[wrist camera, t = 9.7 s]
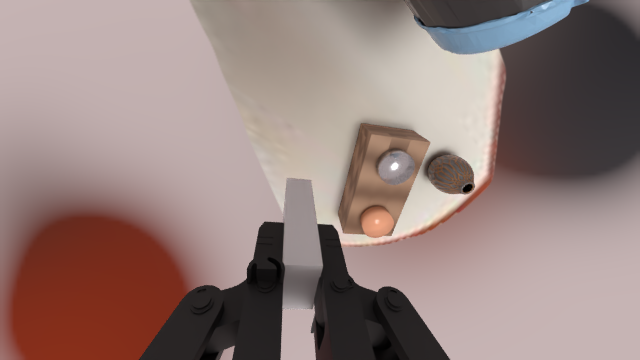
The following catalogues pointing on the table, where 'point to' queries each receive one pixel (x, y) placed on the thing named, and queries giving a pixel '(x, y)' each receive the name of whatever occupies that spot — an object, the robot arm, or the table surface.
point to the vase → (451, 175)
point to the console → (377, 175)
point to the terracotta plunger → (376, 222)
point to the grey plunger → (395, 166)
